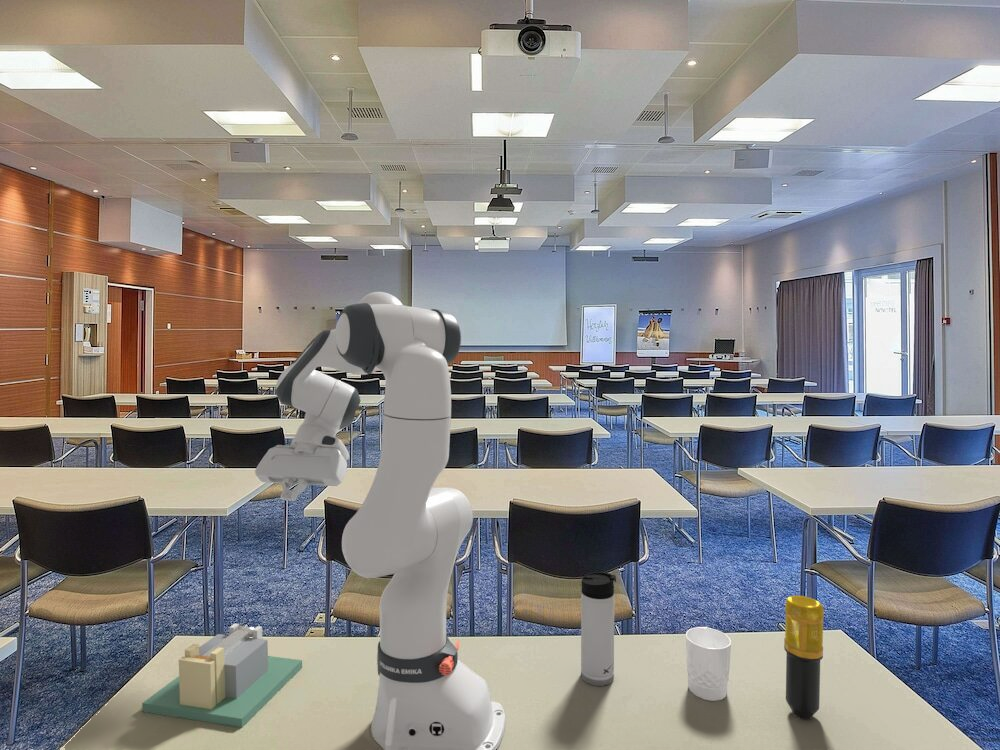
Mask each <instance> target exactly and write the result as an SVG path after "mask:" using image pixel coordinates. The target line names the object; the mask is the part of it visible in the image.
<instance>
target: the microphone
mask: <svg viewBox="0 0 1000 750" xmlns="http://www.w3.org/2000/svg"><path fill="white" fill-rule="evenodd" d="M784 606H785V608H784V613H785V631H784V632H785V635H784V644H783V645H784V646H783V647H784V652H786V661H785V662H786V666H785V667H786V670H785V701H786V704H787V705H788V707H789V708H790V710H791V712H792V713H793V715H794V716H796V717H797V718H799V719H801V720H811V719H812V718H813V717H814V715H816V713H817V712H818V711H819V710H820V697H821V695H820V691H821V687H820V685H821V684H820V683H821V660H822V659H823V658H824V646H823V645H824V644H823V642H824V641H823V638H824V637H823V636H824V634H823V633H824V621H825V619H824V618H825V615H824V613H825V612H824V610H825V609H824V606H823V604H822V603H821V602H820V601H819V600H817V599H814V598H812V597H809V596H804V595H791V596H789V597H787V598H786V599H785V605H784Z"/></svg>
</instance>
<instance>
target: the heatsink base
mask: <svg viewBox="0 0 1000 750" xmlns="http://www.w3.org/2000/svg"><path fill="white" fill-rule="evenodd" d="M238 626H240V624H239V623H233V624H231V626H229V627H228V630H229V631H228V633H229V634H221V633H220V634H219V633H218V634H216V635H215V636H213V637H212V638H210V639H208V640H207V641H206V642H204V643H203V644H202V645H199V644H195V643H193V644H191V645H189V647H187V648H185V649H184V656H182V657H180V658H179V659H178V676H177V677H175V679H173V680H171V681H170V682H169V683H168V684H166V685H164V686H163V687H162V688H161V689H159V690H158V691H156V692H155V693H153V694H152V695H151V696H150V697H148V698H147V699H145V700H144V701H143V702H142V703H141V704H142V705H141V706H142V707H141V709H142V712H143V711H145V713H149V712H150V714H157V715H161V716H162V715H163V716H169V717H175V718H181V719H187V720H192V721H193V720H195V721H200V722H205V723H212V724H218V725H225V726H230V727H235V728H237V727H238V728H243V727H244V726H245V725H246V724H247V723H248V722H249V721H251V719H252V718H253V717H254V716H255V715H256V714H257V713H258V712H260V710H261V709H262V708H264V707H265V705H267V704H268V702H269V701H270V700H272V698H273V697H274V696H276V695H277V694H278V693H279V691H280V690H281V689H282V688H284V686H285V685H286V684H288V682H290V681H291V679H292V678H294V677H295V676H296V675H297V674H298V673H299V671H301V669H302V668H303V660H302V659H295V658H294V659H293V658H290V657H289V658H288V657H280V656H273V655H269V651H268V650H269V648H268V645H269V644H268V639H263V626H260V625H257V626H256V627H253V628H254V629H253V630H252V633H253V637H249V638H248V639H246V640H245V641H244V642H243V643H241V644H240V645H239V646H238V647H236V648H235V649H234V650H233V651H231V652H230V653H229V654H228V655H226V656H225V657H224V648H220V647H218V648H217V649H215V650H214V651H212V652H211V653H210V660H204V659H197V658H195V657H196V656H198V655H200V656H202V655H204V654H205V653H206V652H208V651H209V650H210V649H212V648H213V647H214V646H216V645H217V644H218V643H220V642H221V641H222V640H224V639H225V638H227V637H228V636H229V635H231V634H232V633H233V632H235V630H236V628H237V627H238Z"/></svg>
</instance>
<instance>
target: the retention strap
mask: <svg viewBox="0 0 1000 750" xmlns="http://www.w3.org/2000/svg"><path fill="white" fill-rule="evenodd" d="M254 628H255V627H249V626H241V625H239V626H238V627H237V628H236V630H235V632H233V633H232V634H231V635H229V634H228V635H229V636H228V637H227V638H225V639H224V640H222V641H221V642H220V643H218V644H217V645H216V646H214V647H213V648H212V649H210V650H209V651H208V652H206V653H205V654H204V655H202V656H200V655H198V656H196V657H195V658H197V659H204V660H210V653H211V652H212V651H214V650H215V649H217V648H218V647H220V648H224V657H225V656H226V655H228V654H229V653H230V652H231V651H233V650H234V649H235V648H236V647H238V646H239V645H240V644H241V643H243V642H244V641H245V640H246V639H248V638H253V633H252V630H253V629H254Z"/></svg>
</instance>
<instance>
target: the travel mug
mask: <svg viewBox="0 0 1000 750" xmlns="http://www.w3.org/2000/svg"><path fill="white" fill-rule="evenodd" d="M616 582H617V576H616V575H615V574H611V573H609V572H604V571H601V572H599V571H597V572H590V573H588V574H585V575H584V576H583V577H582V578H581V591H580V593H581V594H580V595H581V596H580V597H581V598H580V603H581V604H580V607H581V608H580V611H581V612H580V613H581V614H580V615H581V616H580V648H581V649H580V652H581V653H580V676H581V679H582V680H583V681H584V682H585V683H588V684H590V685H593V686H598V687H599V686H600V687H602V686H603V687H604V686H607V685H610V684H611V683H612V682H613V681H614V679H615V674H614V673H615V586H614V585H615V584H614V583H616Z"/></svg>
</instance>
